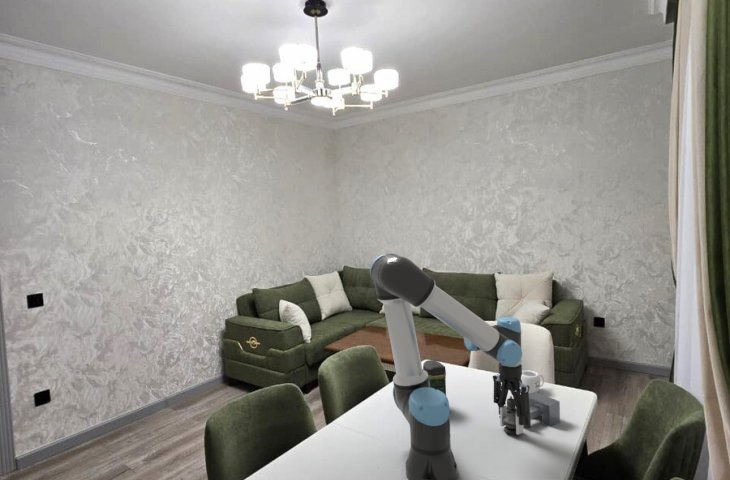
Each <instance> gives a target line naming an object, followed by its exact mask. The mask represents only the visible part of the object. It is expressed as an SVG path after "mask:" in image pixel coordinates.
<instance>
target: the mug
mask: <svg viewBox="0 0 730 480" xmlns="http://www.w3.org/2000/svg"><path fill="white" fill-rule="evenodd" d="M521 380H522V383H523V384H524V385H525V386H527V385H528V386H529V387H530V389H529V394H531V393H534V392H537V393H539V390H540V388H541V387H543V386H544V383H545V378H544V376H543V374H540V373H539V372H537V371H534V370H529V369H527V370H522V375H521Z"/></svg>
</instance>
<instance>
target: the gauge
mask: <svg viewBox="0 0 730 480" xmlns="http://www.w3.org/2000/svg"><path fill="white" fill-rule="evenodd" d="M529 406H530V408H531V407H534V406H538V407H540V408H542V415H541V424H543V425H545V426H547V427H549V428H550V427H552V426H555V425H557V424H558V423H560V422H561V407H560V406H561V405H560V400H557V399H554V398H553V397H552V398H551V397H550V396H547V395H544V394H543V393H542V394H541V393H539V392H534V393H531V394H529ZM499 419H500V415H499Z"/></svg>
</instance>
